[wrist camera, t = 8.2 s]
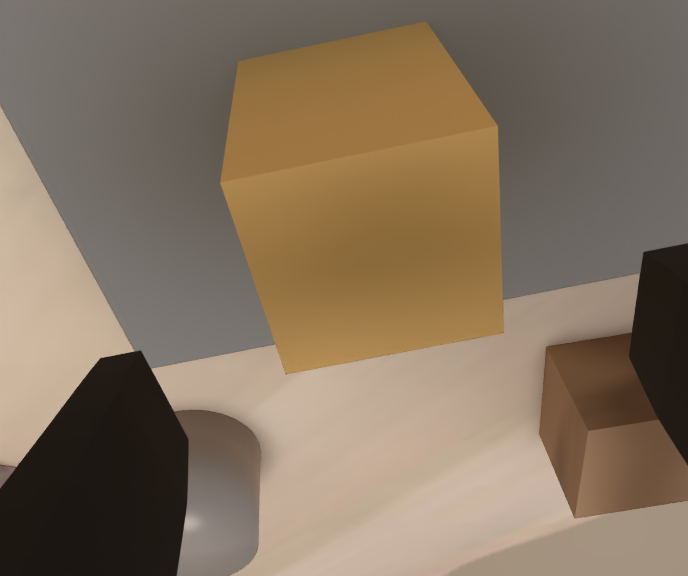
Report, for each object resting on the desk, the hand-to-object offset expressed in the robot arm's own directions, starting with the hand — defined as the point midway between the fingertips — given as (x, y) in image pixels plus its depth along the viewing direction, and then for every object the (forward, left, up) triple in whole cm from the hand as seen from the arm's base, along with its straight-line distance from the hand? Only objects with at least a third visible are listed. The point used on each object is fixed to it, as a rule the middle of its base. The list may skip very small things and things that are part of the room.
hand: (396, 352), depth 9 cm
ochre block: (0, 0, -8) cm, 9 cm away
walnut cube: (-8, +13, -10) cm, 18 cm away
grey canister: (+8, +13, -9) cm, 18 cm away
